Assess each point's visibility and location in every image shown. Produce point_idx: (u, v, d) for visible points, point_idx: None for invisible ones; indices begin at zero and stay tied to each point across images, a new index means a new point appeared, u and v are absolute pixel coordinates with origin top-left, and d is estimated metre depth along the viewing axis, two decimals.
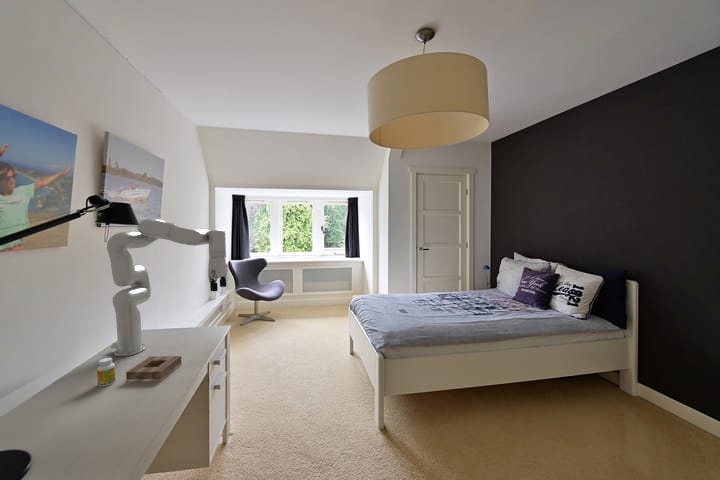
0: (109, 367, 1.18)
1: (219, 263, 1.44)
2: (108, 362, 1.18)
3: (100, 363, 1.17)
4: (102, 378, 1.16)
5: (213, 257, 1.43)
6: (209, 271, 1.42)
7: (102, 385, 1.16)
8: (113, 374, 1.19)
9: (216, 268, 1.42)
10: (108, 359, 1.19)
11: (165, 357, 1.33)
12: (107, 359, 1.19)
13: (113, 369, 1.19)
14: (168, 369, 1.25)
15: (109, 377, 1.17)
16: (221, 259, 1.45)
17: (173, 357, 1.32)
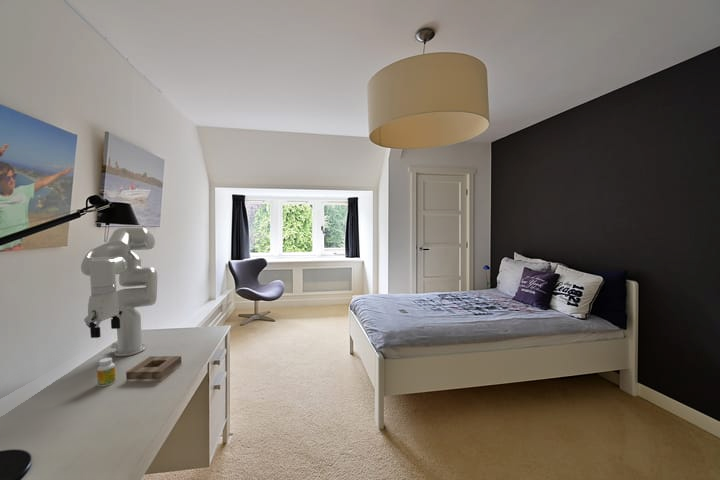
0: (109, 367, 1.18)
1: (104, 301, 1.15)
2: (108, 362, 1.18)
3: (100, 363, 1.17)
4: (102, 378, 1.16)
5: (95, 294, 1.14)
6: (89, 312, 1.13)
7: (102, 385, 1.16)
8: (113, 374, 1.19)
9: (98, 308, 1.13)
10: (108, 359, 1.19)
11: (165, 357, 1.33)
12: (107, 359, 1.19)
13: (113, 369, 1.19)
14: (168, 369, 1.25)
15: (109, 377, 1.17)
16: (107, 296, 1.16)
17: (173, 357, 1.32)
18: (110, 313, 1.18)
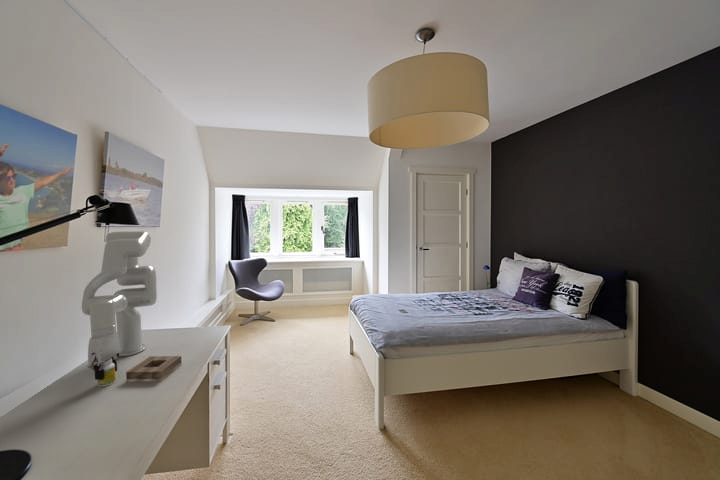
0: (109, 367, 1.18)
1: (104, 343, 1.15)
2: (108, 362, 1.18)
3: None
4: None
5: (95, 336, 1.14)
6: (89, 355, 1.13)
7: (102, 385, 1.16)
8: (113, 374, 1.19)
9: (98, 351, 1.13)
10: (108, 359, 1.19)
11: (165, 357, 1.33)
12: None
13: (113, 369, 1.19)
14: (168, 369, 1.25)
15: (109, 377, 1.17)
16: (107, 337, 1.17)
17: (173, 357, 1.32)
18: (110, 353, 1.18)
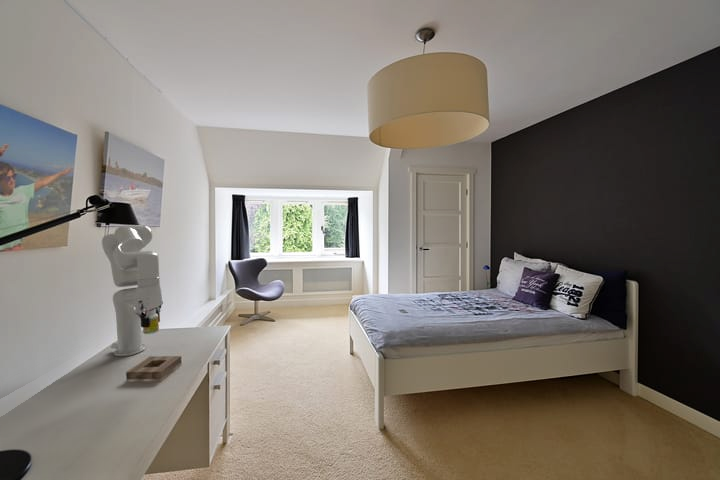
0: (154, 316, 1.24)
1: (149, 292, 1.22)
2: (153, 311, 1.24)
3: (145, 312, 1.23)
4: None
5: (141, 286, 1.21)
6: (136, 303, 1.20)
7: (147, 333, 1.23)
8: (157, 323, 1.26)
9: (144, 299, 1.20)
10: (152, 309, 1.25)
11: (165, 357, 1.33)
12: (151, 309, 1.25)
13: (157, 319, 1.26)
14: (168, 369, 1.25)
15: (153, 326, 1.24)
16: (152, 288, 1.23)
17: (173, 357, 1.32)
18: (154, 304, 1.25)
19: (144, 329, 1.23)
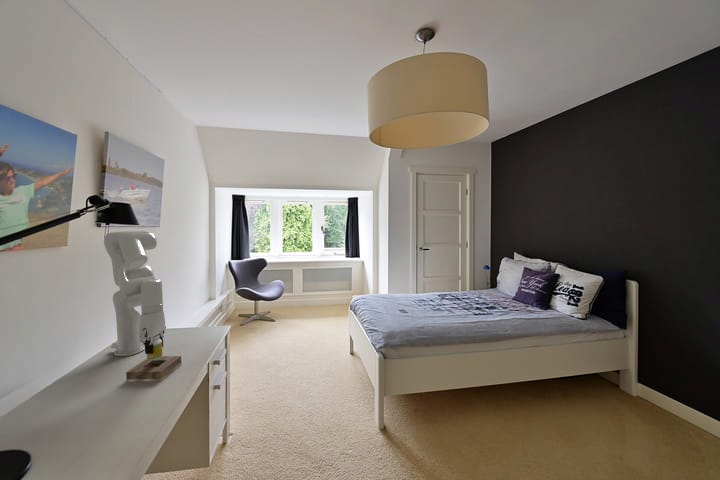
0: (158, 342, 1.25)
1: (153, 319, 1.23)
2: (156, 338, 1.26)
3: (149, 338, 1.24)
4: None
5: (145, 313, 1.22)
6: (140, 330, 1.21)
7: (151, 359, 1.24)
8: (161, 349, 1.27)
9: (148, 326, 1.21)
10: (156, 335, 1.27)
11: (165, 357, 1.33)
12: None
13: (161, 344, 1.27)
14: (168, 369, 1.25)
15: (157, 352, 1.25)
16: (156, 314, 1.24)
17: (173, 357, 1.32)
18: (158, 330, 1.26)
19: (148, 355, 1.24)
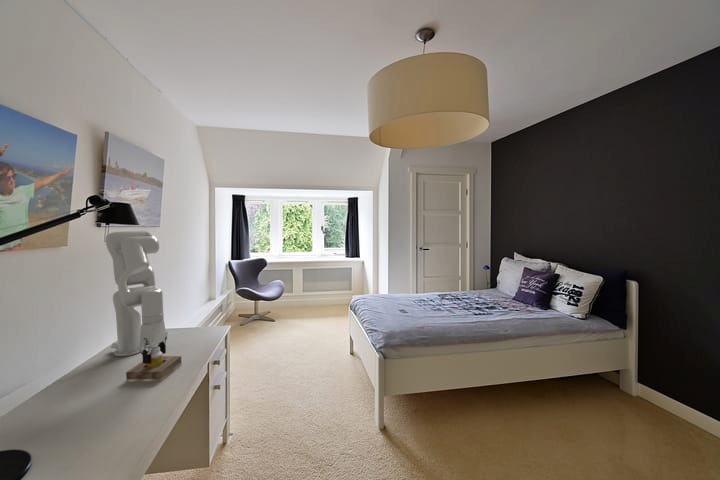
0: (158, 354, 1.26)
1: (154, 329, 1.23)
2: (157, 350, 1.26)
3: None
4: (152, 365, 1.25)
5: (146, 323, 1.22)
6: (141, 340, 1.21)
7: None
8: (161, 361, 1.27)
9: (149, 336, 1.21)
10: (156, 347, 1.27)
11: (165, 357, 1.33)
12: (156, 347, 1.27)
13: (161, 357, 1.27)
14: (168, 369, 1.25)
15: (158, 364, 1.26)
16: (156, 324, 1.25)
17: (173, 357, 1.32)
18: (158, 339, 1.26)
19: None
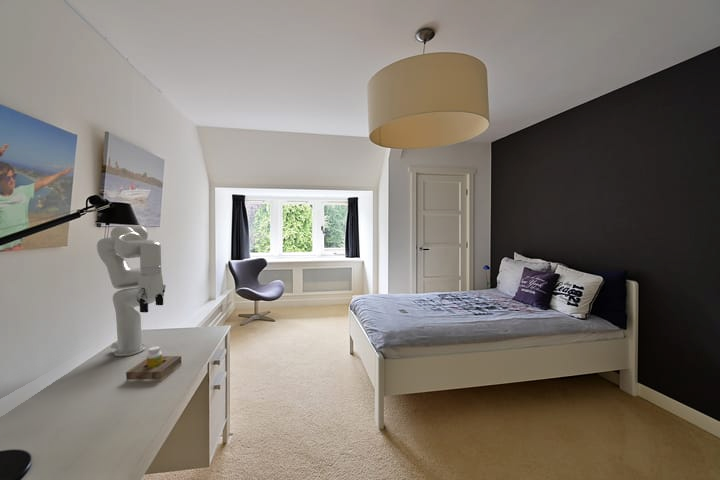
0: (158, 354, 1.26)
1: (152, 280, 1.27)
2: (157, 350, 1.26)
3: (150, 351, 1.25)
4: (152, 365, 1.25)
5: (144, 274, 1.26)
6: (138, 289, 1.25)
7: None
8: (161, 361, 1.27)
9: (146, 286, 1.25)
10: (156, 347, 1.27)
11: (165, 357, 1.33)
12: (155, 347, 1.27)
13: (161, 357, 1.27)
14: (168, 369, 1.25)
15: (158, 364, 1.26)
16: (154, 276, 1.28)
17: (173, 357, 1.32)
18: (156, 291, 1.30)
19: None
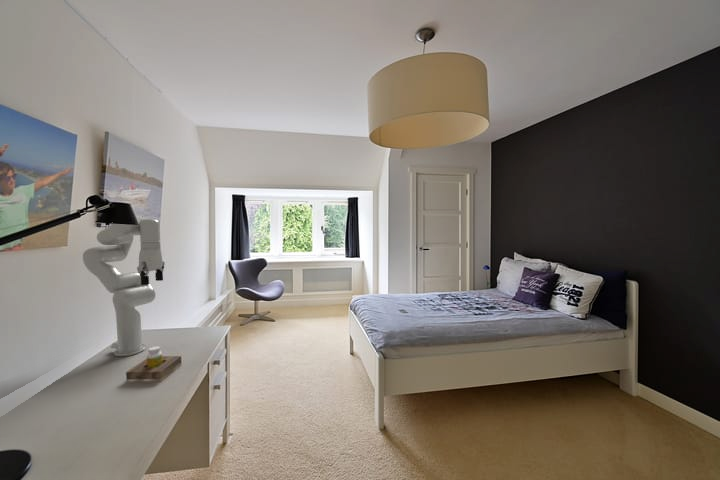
0: (158, 354, 1.26)
1: (152, 255, 1.35)
2: (157, 350, 1.26)
3: (150, 351, 1.25)
4: (152, 365, 1.25)
5: (144, 248, 1.34)
6: (139, 263, 1.33)
7: None
8: (161, 361, 1.27)
9: (147, 260, 1.33)
10: (156, 347, 1.27)
11: (165, 357, 1.33)
12: (155, 347, 1.27)
13: (161, 357, 1.27)
14: (168, 369, 1.25)
15: (158, 364, 1.26)
16: (154, 251, 1.37)
17: (173, 357, 1.32)
18: (156, 266, 1.38)
19: None
